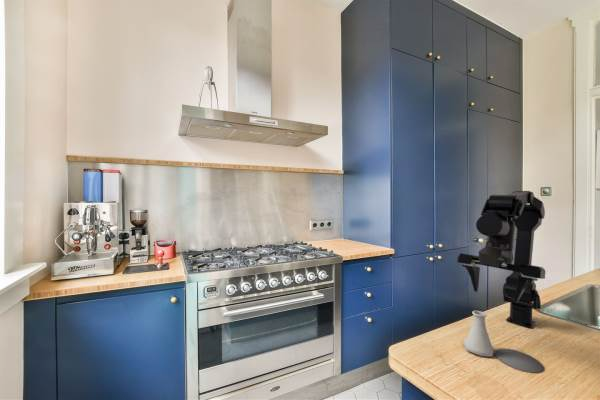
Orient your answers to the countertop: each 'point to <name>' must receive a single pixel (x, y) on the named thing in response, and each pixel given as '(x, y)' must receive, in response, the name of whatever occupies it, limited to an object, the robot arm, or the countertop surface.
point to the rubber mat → (519, 360)
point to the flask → (478, 336)
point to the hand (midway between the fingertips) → (494, 296)
